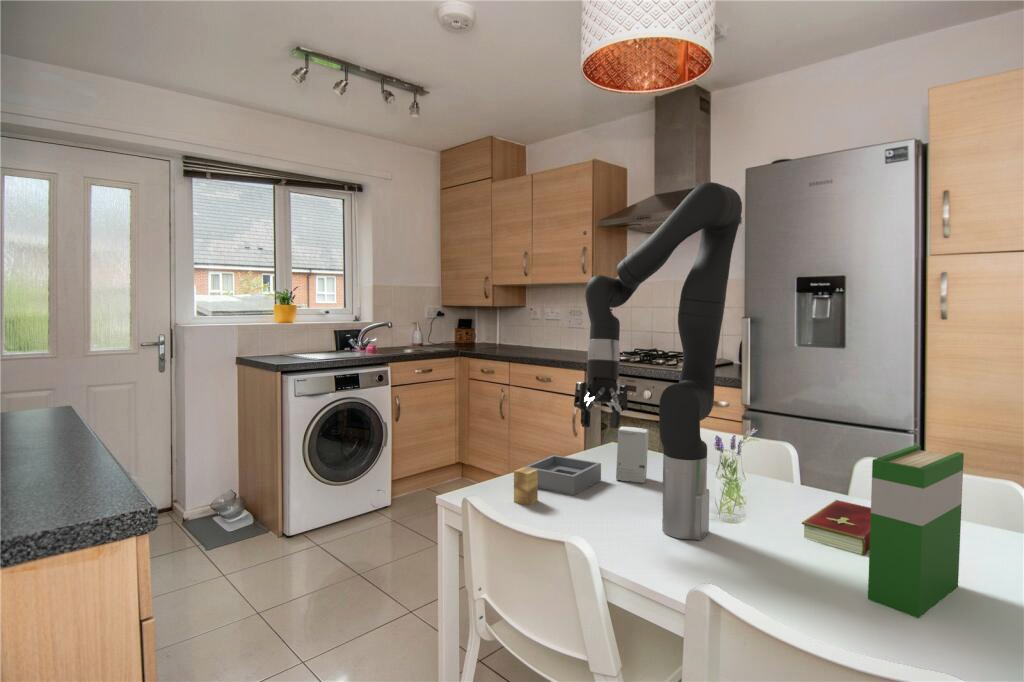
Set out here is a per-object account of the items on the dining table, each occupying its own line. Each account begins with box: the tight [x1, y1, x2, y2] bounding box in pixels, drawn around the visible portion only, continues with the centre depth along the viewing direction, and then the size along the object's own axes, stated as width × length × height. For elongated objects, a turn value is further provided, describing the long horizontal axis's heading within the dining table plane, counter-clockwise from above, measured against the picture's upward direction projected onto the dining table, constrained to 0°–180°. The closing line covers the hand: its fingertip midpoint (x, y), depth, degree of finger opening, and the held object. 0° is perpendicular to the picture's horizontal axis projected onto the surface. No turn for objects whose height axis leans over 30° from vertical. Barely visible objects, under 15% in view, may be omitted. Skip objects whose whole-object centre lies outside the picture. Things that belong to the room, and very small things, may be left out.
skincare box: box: [615, 425, 650, 484], centre depth 164 cm, size 8×6×15 cm
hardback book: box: [867, 444, 965, 619], centre depth 98 cm, size 18×7×24 cm, turn 126°
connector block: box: [513, 466, 539, 506], centre depth 146 cm, size 4×4×8 cm
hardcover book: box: [801, 499, 871, 556], centre depth 125 cm, size 12×21×4 cm, turn 133°
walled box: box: [524, 454, 602, 496], centre depth 162 cm, size 16×16×5 cm
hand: (600, 427), depth 135 cm, fingers open, 8 cm apart
